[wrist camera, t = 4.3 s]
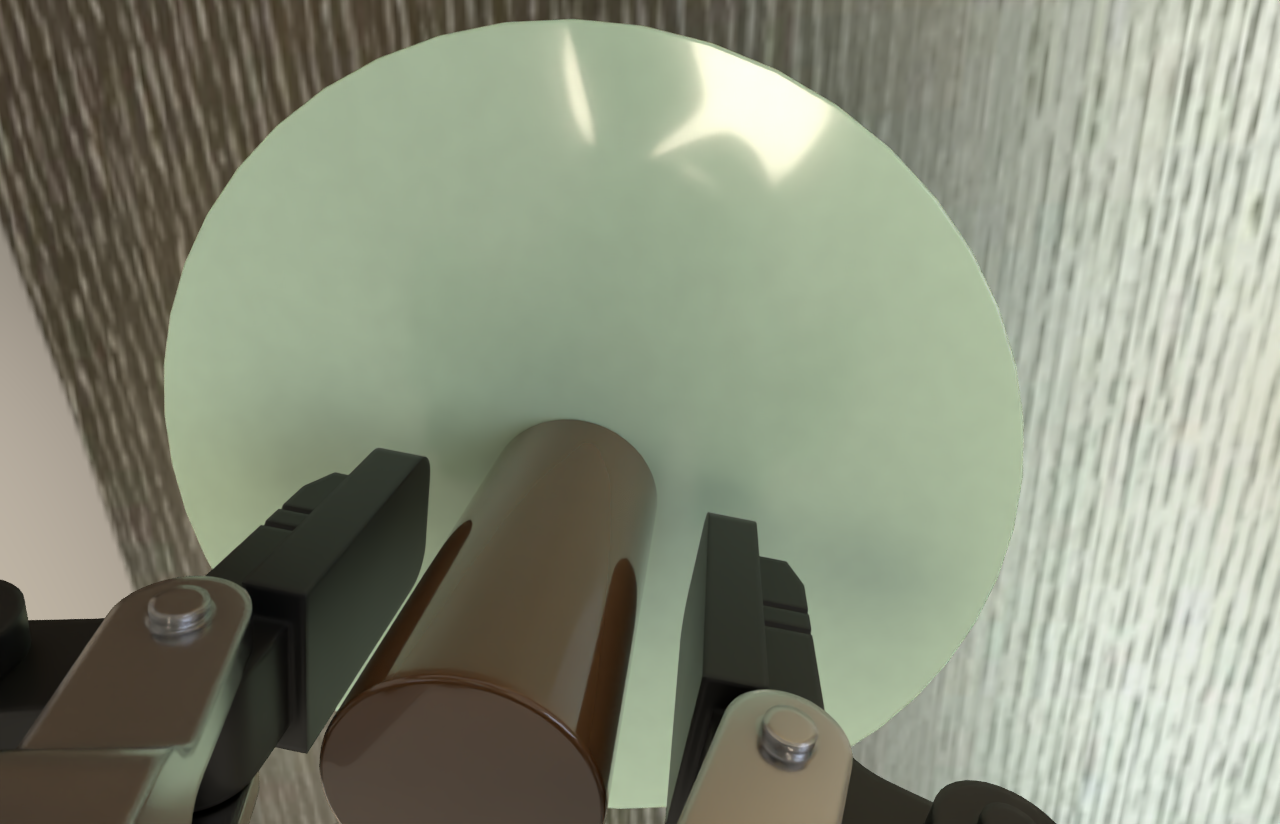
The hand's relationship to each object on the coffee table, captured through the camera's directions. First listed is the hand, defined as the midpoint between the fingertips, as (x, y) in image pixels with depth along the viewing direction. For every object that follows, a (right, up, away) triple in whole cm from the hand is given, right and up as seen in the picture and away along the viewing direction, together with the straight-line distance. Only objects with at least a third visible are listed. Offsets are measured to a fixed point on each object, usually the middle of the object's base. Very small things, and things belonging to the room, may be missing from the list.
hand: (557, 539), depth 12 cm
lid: (0, +1, +2) cm, 2 cm away
